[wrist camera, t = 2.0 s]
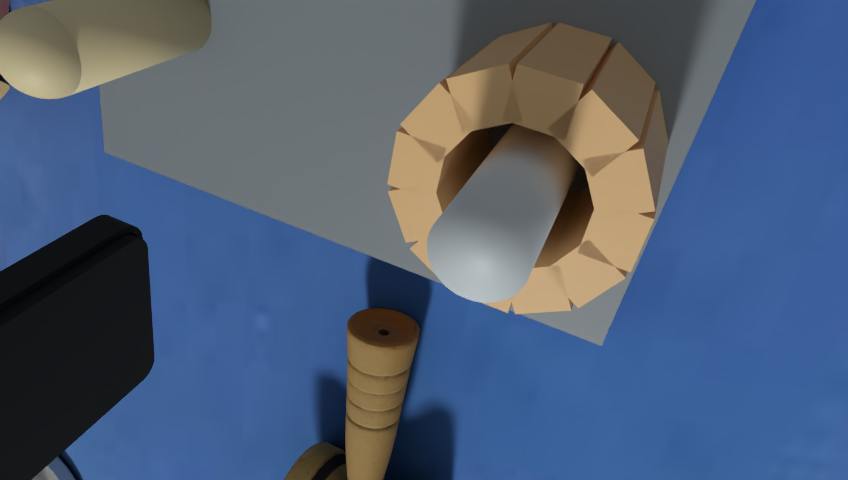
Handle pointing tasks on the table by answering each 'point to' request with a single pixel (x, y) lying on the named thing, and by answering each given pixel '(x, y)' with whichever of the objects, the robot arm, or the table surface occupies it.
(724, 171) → the table surface
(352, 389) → the kendama
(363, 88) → the board
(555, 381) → the table surface
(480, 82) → the collar
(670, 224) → the table surface
